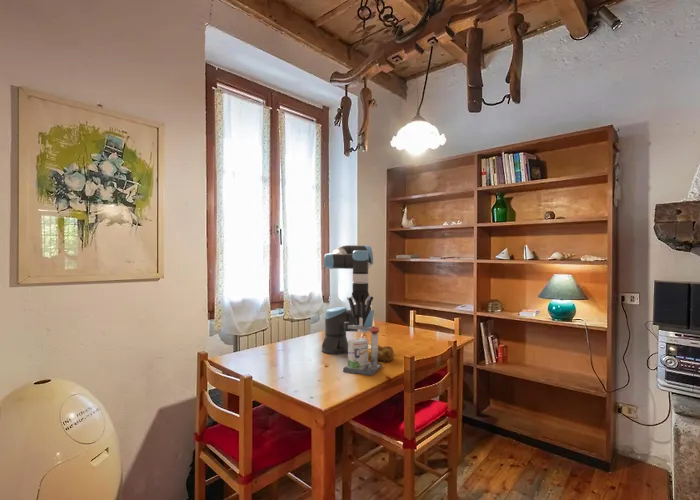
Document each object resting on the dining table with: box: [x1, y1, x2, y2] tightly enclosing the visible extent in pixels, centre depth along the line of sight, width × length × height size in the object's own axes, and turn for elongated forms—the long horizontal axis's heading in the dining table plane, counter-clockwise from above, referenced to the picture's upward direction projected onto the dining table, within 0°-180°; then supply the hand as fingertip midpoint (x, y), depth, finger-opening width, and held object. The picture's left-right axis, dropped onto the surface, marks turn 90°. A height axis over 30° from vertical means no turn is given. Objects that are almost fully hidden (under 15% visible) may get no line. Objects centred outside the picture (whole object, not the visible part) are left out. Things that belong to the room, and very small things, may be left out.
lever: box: [344, 322, 380, 334], centre depth 174 cm, size 4×18×4 cm, turn 64°
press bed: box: [342, 332, 383, 377], centre depth 174 cm, size 15×14×18 cm
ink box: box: [347, 337, 369, 367], centre depth 175 cm, size 9×5×12 cm, turn 117°
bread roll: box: [368, 345, 395, 362], centre depth 189 cm, size 13×10×8 cm
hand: (360, 331), depth 178 cm, fingers closed
